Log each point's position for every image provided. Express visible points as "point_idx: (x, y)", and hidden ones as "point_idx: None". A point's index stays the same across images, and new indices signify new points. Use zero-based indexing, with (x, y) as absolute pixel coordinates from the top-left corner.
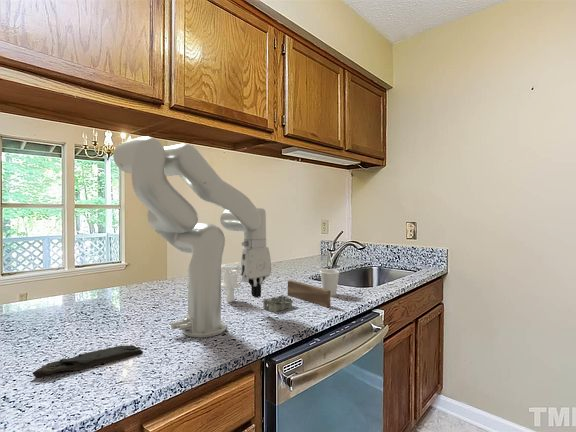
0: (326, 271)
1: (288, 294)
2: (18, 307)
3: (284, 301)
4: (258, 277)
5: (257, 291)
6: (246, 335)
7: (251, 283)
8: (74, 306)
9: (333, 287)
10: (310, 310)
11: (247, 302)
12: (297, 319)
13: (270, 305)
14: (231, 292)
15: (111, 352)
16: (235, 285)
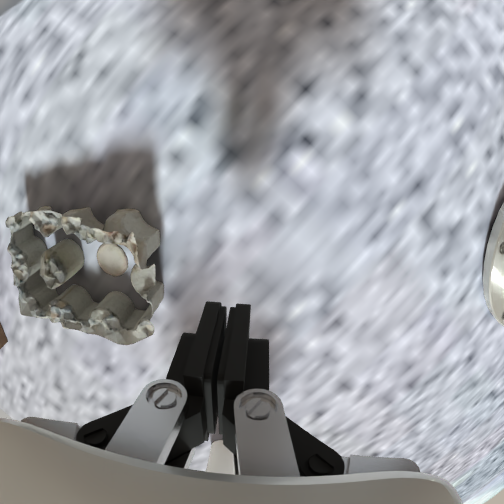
0: None
1: (3, 339)
2: (491, 495)
3: (42, 255)
4: (235, 477)
5: (243, 338)
6: (492, 57)
7: (307, 437)
8: (470, 493)
9: None
10: (8, 114)
11: None
12: (132, 22)
13: (143, 246)
14: (225, 472)
15: None
16: None
